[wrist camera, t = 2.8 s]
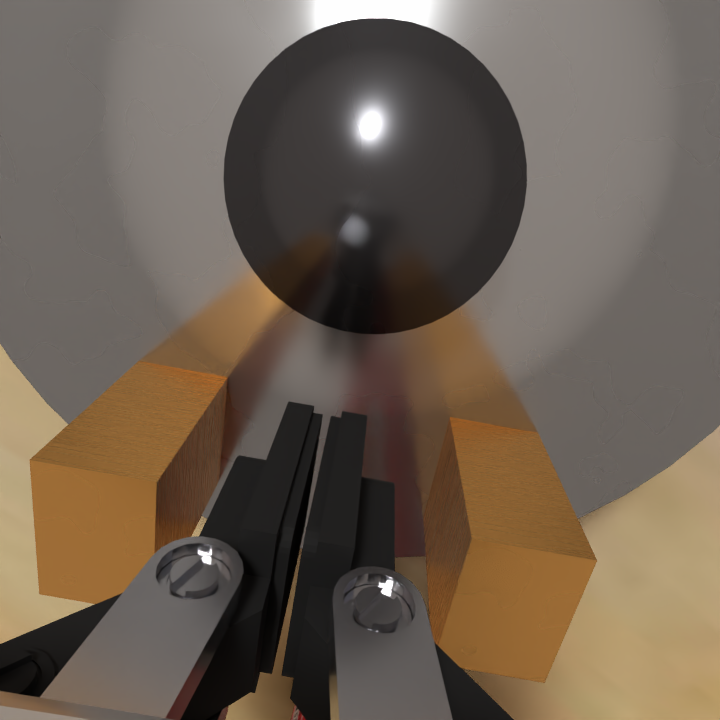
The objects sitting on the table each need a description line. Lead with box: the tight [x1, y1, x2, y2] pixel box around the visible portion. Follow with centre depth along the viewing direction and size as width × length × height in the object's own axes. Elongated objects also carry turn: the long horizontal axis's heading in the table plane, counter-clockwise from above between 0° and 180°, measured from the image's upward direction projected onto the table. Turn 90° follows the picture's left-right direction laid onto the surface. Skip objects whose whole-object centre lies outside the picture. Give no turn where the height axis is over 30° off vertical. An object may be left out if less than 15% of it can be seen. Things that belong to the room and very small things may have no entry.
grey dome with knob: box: [0, 0, 720, 683], centre depth 10 cm, size 18×18×6 cm
